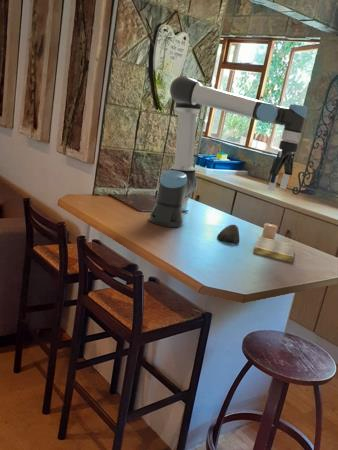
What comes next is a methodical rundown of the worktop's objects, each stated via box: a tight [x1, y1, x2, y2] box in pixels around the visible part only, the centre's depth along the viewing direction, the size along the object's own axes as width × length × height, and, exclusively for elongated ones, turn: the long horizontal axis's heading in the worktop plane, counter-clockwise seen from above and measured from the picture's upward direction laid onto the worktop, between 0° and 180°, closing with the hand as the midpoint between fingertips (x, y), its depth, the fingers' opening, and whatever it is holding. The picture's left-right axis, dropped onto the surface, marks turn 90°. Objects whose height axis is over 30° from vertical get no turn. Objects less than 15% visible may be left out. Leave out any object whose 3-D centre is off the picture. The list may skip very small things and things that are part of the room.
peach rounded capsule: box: [261, 222, 279, 240], centre depth 205 cm, size 6×6×7 cm
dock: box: [252, 235, 295, 263], centre depth 189 cm, size 16×18×3 cm
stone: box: [216, 224, 240, 244], centre depth 193 cm, size 10×8×10 cm
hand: (277, 189), depth 195 cm, fingers open, 13 cm apart
